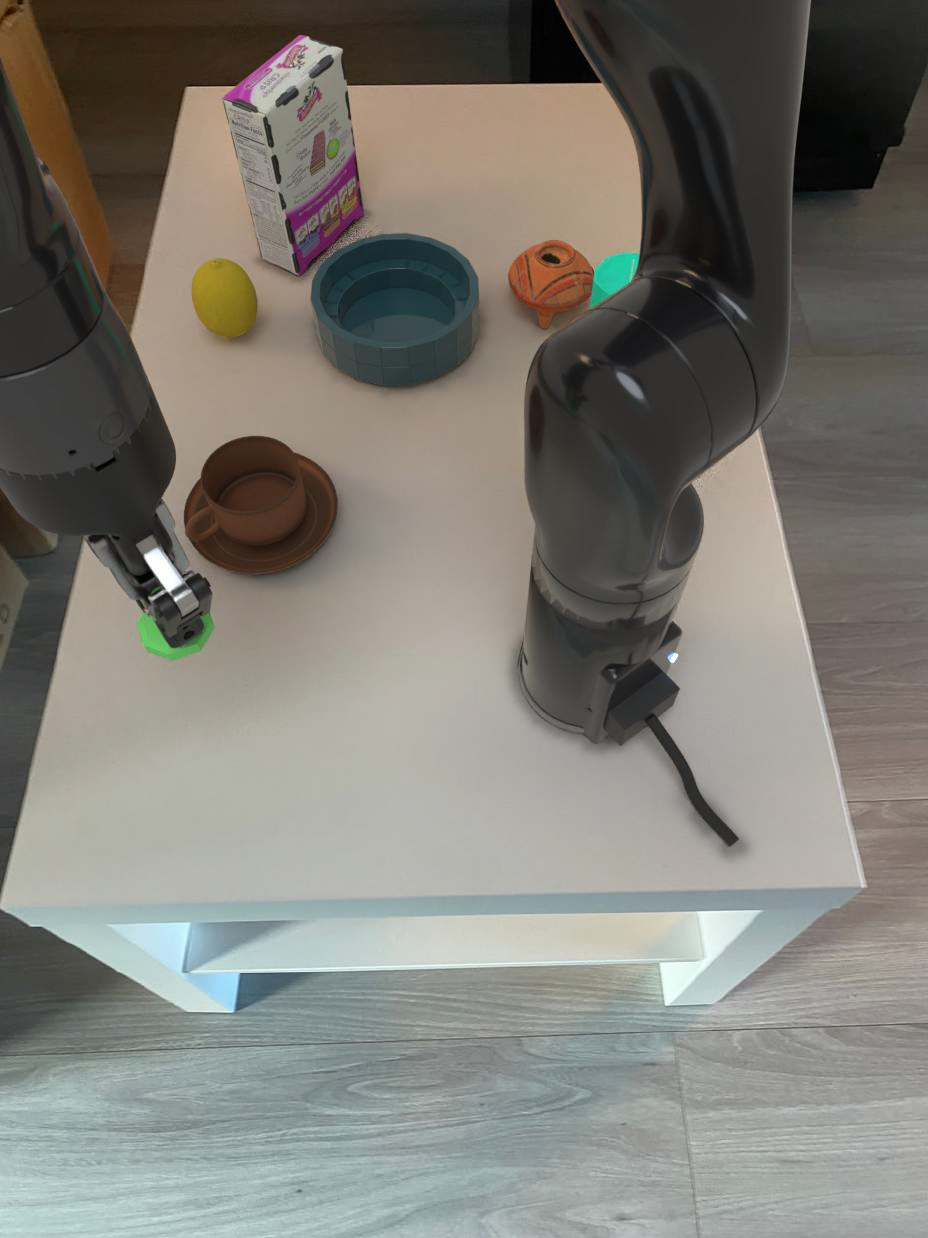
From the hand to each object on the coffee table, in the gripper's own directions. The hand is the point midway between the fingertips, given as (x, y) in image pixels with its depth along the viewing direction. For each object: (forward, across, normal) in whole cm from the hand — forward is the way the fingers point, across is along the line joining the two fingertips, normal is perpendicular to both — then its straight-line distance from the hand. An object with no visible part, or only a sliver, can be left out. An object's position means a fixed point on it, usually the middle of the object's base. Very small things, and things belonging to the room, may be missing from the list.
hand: (173, 619), depth 54 cm
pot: (+15, -18, +46) cm, 51 cm away
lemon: (+15, -34, +22) cm, 42 cm away
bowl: (+15, -24, +33) cm, 44 cm away
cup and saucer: (+15, -14, +12) cm, 24 cm away
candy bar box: (+14, -40, +35) cm, 55 cm away
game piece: (+1, 0, 0) cm, 1 cm away
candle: (+15, -8, +45) cm, 48 cm away
